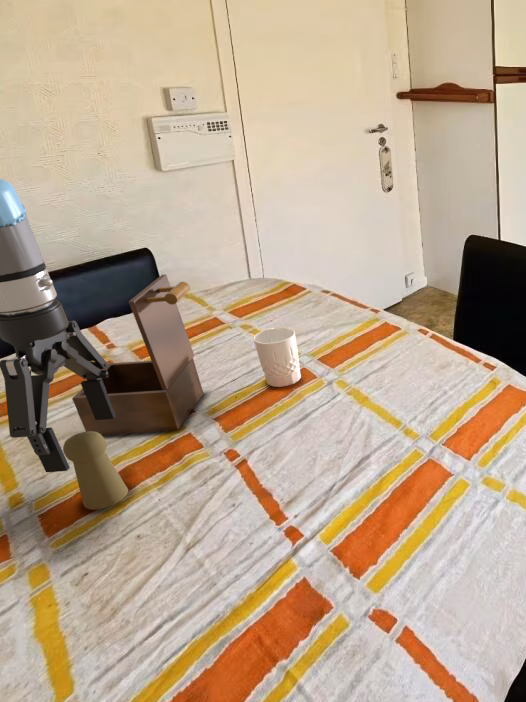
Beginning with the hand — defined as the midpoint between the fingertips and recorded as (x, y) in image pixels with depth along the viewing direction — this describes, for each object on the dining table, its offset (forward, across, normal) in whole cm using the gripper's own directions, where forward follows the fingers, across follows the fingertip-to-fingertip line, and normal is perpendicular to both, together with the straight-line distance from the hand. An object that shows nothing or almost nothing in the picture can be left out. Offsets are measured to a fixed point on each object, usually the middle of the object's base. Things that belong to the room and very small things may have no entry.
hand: (83, 442), depth 91 cm
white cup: (+10, +36, -19) cm, 42 cm away
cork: (+10, 0, 0) cm, 10 cm away
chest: (+10, +26, +4) cm, 28 cm away
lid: (-6, +25, -3) cm, 26 cm away
